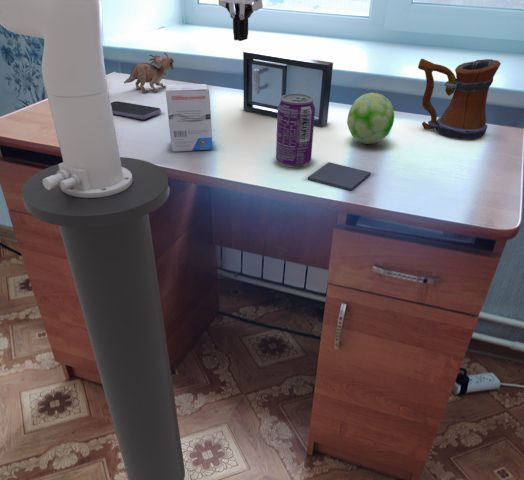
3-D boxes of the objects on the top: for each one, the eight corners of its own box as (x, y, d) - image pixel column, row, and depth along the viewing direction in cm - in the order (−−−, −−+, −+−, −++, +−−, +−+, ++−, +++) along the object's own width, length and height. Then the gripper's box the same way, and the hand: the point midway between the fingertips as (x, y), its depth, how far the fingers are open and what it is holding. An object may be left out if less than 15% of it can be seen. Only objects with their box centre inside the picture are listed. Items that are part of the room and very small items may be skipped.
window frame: (321, 127, 118) (327, 65, 110) (243, 110, 127) (243, 51, 118) (327, 123, 120) (333, 62, 112) (249, 107, 129) (250, 49, 120)
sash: (272, 116, 118) (274, 70, 112) (237, 109, 122) (236, 63, 116) (285, 110, 122) (287, 65, 116) (250, 103, 126) (250, 59, 119)
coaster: (351, 191, 92) (351, 188, 92) (307, 179, 95) (307, 177, 95) (370, 174, 98) (370, 172, 97) (328, 164, 101) (328, 162, 101)
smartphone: (116, 100, 129) (162, 108, 123) (116, 105, 129) (163, 113, 124) (95, 107, 124) (143, 116, 118) (96, 112, 124) (144, 121, 119)
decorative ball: (340, 135, 114) (345, 87, 108) (382, 134, 115) (391, 87, 108) (350, 151, 107) (356, 100, 100) (395, 150, 108) (405, 100, 101)
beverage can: (313, 157, 104) (318, 94, 96) (307, 170, 99) (312, 105, 91) (279, 154, 105) (282, 91, 97) (272, 166, 100) (274, 101, 92)
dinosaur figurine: (175, 86, 142) (172, 48, 136) (176, 92, 138) (173, 53, 132) (125, 87, 140) (120, 49, 134) (125, 93, 136) (119, 54, 130)
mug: (405, 135, 115) (420, 61, 105) (406, 119, 123) (419, 50, 114) (487, 143, 112) (510, 67, 102) (482, 126, 121) (503, 55, 111)
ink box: (210, 142, 110) (207, 82, 102) (212, 150, 106) (209, 89, 98) (170, 143, 108) (164, 83, 100) (171, 152, 105) (165, 90, 97)
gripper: (198, -68, 101) (204, 38, 114) (260, -64, 95) (260, 47, 108) (219, -69, 106) (223, 32, 118) (280, -66, 100) (277, 40, 113)
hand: (240, 39), depth 113 cm, fingers closed
